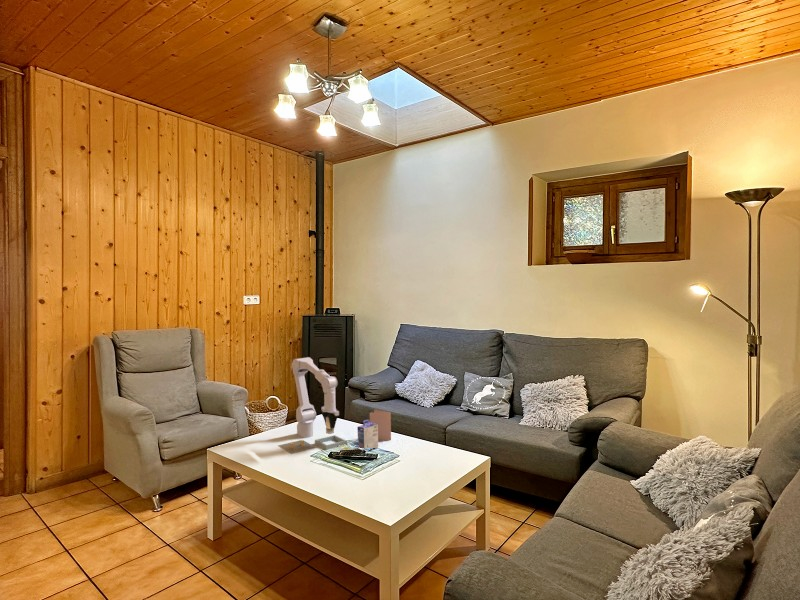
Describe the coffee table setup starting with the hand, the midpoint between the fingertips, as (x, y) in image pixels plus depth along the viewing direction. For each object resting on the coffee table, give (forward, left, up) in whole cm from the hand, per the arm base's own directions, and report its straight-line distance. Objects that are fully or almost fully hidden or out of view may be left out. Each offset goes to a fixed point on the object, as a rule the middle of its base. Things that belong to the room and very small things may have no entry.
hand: (330, 426), depth 235 cm
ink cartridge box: (+15, +13, -11) cm, 23 cm away
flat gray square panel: (-8, -15, -10) cm, 20 cm away
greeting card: (+7, +26, -11) cm, 29 cm away
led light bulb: (0, 0, -3) cm, 3 cm away
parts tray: (0, 0, -10) cm, 10 cm away
